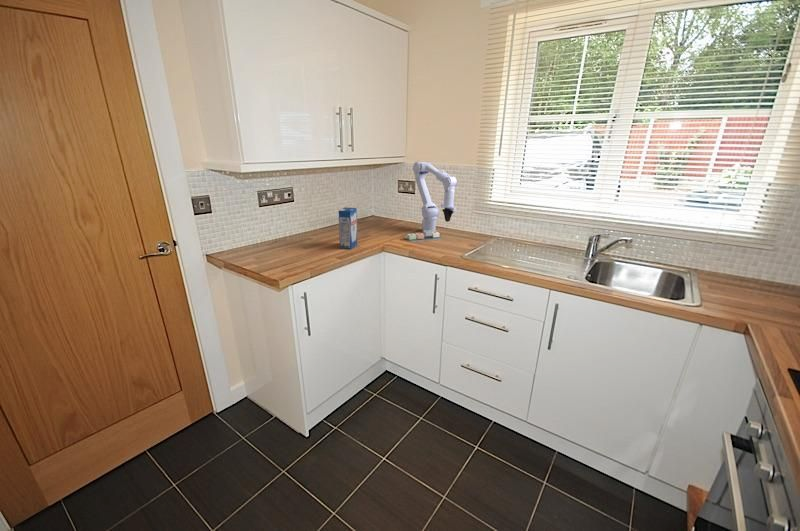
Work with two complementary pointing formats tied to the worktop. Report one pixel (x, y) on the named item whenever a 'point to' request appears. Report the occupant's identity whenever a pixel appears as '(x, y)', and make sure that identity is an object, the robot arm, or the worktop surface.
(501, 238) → the worktop surface
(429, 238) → the keypad board
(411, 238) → the key
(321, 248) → the worktop surface
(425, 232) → the key
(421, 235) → the key
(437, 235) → the key
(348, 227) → the milk carton
